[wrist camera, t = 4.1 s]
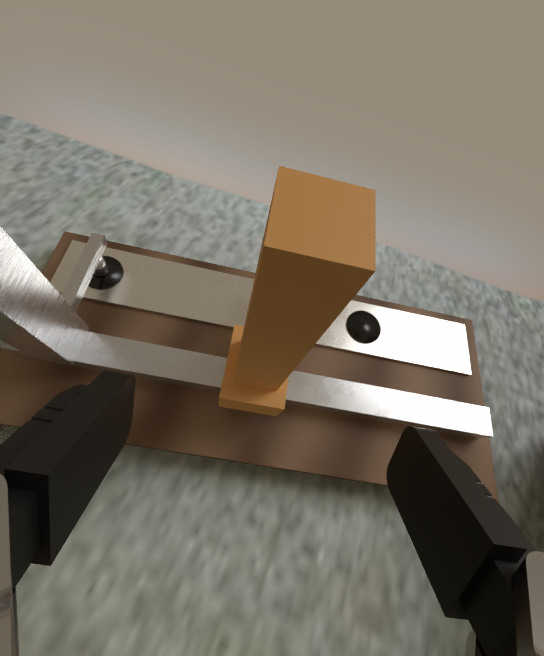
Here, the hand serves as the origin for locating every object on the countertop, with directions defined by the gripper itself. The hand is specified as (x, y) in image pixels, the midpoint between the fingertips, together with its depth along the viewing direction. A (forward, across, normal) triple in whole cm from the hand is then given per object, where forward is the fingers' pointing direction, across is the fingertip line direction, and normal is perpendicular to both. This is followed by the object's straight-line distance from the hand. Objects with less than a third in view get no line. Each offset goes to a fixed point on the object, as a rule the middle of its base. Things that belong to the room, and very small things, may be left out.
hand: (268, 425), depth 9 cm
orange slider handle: (+13, 0, +3) cm, 13 cm away
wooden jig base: (+14, -1, +5) cm, 15 cm away
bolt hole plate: (+16, -1, +1) cm, 16 cm away
